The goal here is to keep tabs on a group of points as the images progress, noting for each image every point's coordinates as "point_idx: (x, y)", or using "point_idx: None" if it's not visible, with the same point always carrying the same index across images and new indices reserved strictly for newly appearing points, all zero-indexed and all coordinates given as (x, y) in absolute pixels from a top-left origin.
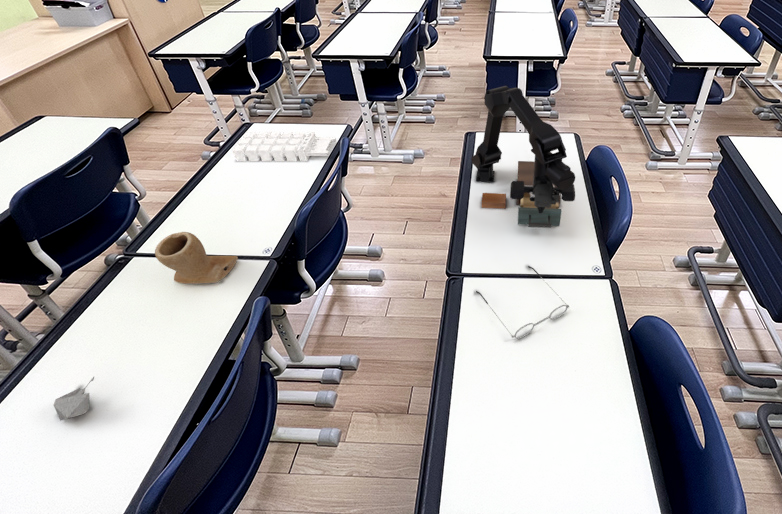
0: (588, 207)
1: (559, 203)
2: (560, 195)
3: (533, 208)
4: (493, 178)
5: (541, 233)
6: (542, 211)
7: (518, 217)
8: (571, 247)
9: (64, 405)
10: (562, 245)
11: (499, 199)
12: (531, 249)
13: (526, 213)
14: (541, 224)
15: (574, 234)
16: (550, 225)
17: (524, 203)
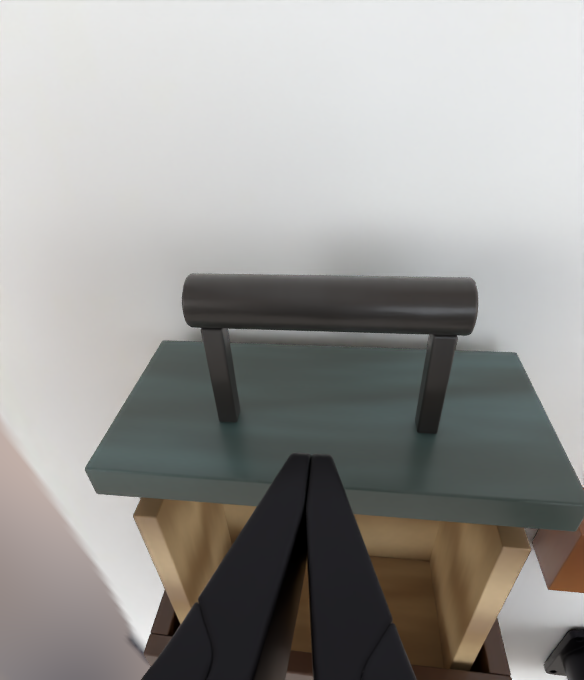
0: (39, 476)
1: None
2: None
3: (394, 510)
4: (568, 646)
5: (307, 269)
6: (279, 484)
7: (540, 410)
8: (16, 102)
9: None
10: (103, 124)
11: None
12: (423, 18)
13: (469, 451)
14: (302, 303)
15: (44, 269)
16: (191, 293)
17: (427, 521)
